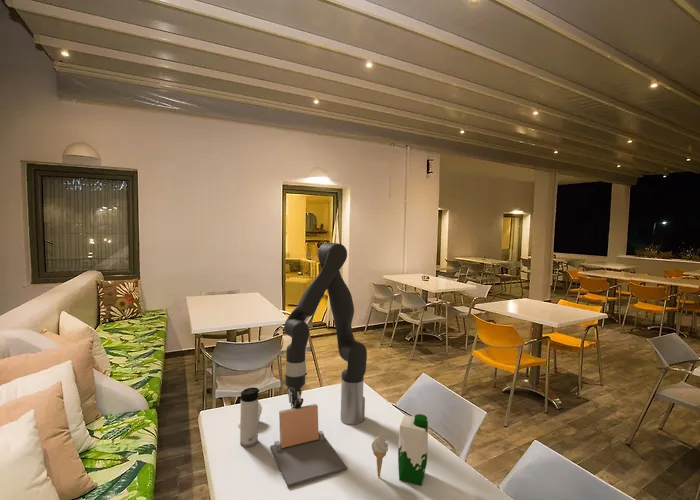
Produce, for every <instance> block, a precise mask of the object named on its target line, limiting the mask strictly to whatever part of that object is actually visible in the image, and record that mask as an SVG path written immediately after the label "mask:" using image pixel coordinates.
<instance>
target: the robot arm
mask: <svg viewBox="0 0 700 500" xmlns="http://www.w3.org/2000/svg"><path fill="white" fill-rule="evenodd" d="M347 258H348V250H347V248H346V246H345V245H344V244H342V243H337V242H325V243H322V244H320V246H319V248H318V251H317V259H318V262H319V265H320V268H321V271H320V272H319V273H318V274H317V276H315V279H313V280H312V282H310V284H309V285H308V286H307V288H306V289H305V291H304V292H303V293H302V296H301V298H300V300H299V302H298V303H297V306H296V307H295V308H294V309H293V310H292V311H291V313H290V314H289V315H288V317H287V318H286V320H285V323H284V326H283V330H284V334H286V336H288V337H290V338H291V342H290V343H289V344H288V345H287V347H286V352H285V353H286V355H285V357H286V358H285V359H286V360H285V369H284V371H285V373H284V374H285V375H284V377H285V378H284V381H285V382H284V383H285V385H284V386H286V387H287V388H286V390H287V395H288V402H289V404H290V407H291V408H290V409H293V408H298V407H302V406H303V403H304V398H302V395H303V394H302V392H303V391H302V387H303V386H305V385H306V371H307V370H306V369H307V368H306V367H307V366H306V348H307V345H308V342H309V336H310V327H309V325H308V324H307V322H305V321H306V319H307V318H309V317H313V316H314V315H315V313H316V311H317V309H318V308H319V305H320V302H321V301H322V299H323V297H324V295H325V293H326V291H327V295H328V299H329V305H330V309H331V313H332V317H333V318H332V319H333V322H334V328H335V331H336V339H337V348H338V354H339V356H340V358H341V359H342V360H344V361H345V362H347V365H346V366H347V367H346V369H344V370H342V371H341V389H340V390H341V391H340V421H341V422H342V423H344V424H345V425H358V424H360V423H362V422H363V421H365V414H366V413H365V412H366V411H365V410H366V409H365V408H366V407H365V406H366V398H365V396H364V378H365V374H366V371H367V361H368V360H367V359H368V358H367V357H368V351H367V348H366V346H365V344H364V343H362V342H360V341H357V340H356V339H355V337H354V334H353V333H354V332H353V327H352V323H353V319H354V315H355V306H354V301H353V296H352V293H351V291H350V289H349V287H348V285H347V283H346V281H344V279H343V277H342V274H341V271H340V270H341V269H342V267H343V266H344V264H345V263H346V260H347Z"/></svg>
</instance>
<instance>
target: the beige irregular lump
mask: <svg viewBox="0 0 700 500" xmlns="http://www.w3.org/2000/svg"><path fill="white" fill-rule="evenodd" d="M262 410H263V407H262V405H261V402H260V401H258V424H260V418H261V415H262V413H263V412H262ZM237 427H238V429H239V430H240V420H239V421H238V424H237Z"/></svg>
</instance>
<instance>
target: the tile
mask: <svg viewBox="0 0 700 500" xmlns="http://www.w3.org/2000/svg"><path fill="white" fill-rule="evenodd" d="M278 414H279V418H278V419H279V420H278V421H279V442H280V444H281V448H284V447H288V446H292V445H296V444H300V443H305V442H309V441H313V440H317V439H319V431H320V430H319V407H318V404H317V403H314V404H310V405H309V404H308V405H304V406H303V405H302V406H301V407H298V408H293V409H291V408H289V409H283V410H279V411H278Z"/></svg>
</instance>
